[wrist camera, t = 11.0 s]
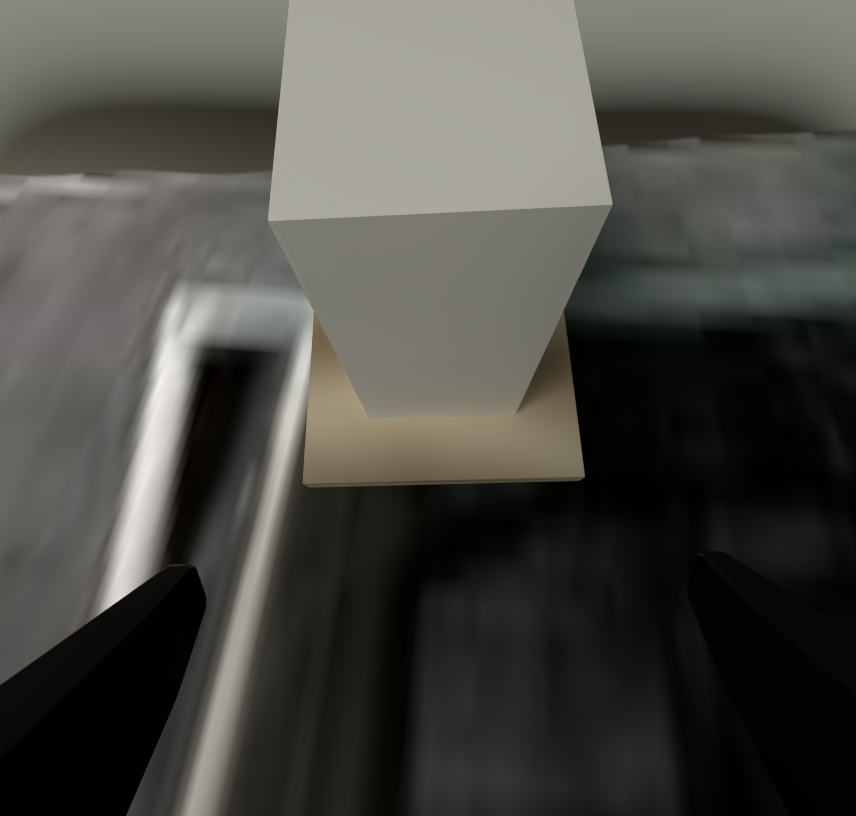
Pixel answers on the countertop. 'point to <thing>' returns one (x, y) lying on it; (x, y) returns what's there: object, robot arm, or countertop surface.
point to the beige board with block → (441, 432)
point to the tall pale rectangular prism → (437, 191)
